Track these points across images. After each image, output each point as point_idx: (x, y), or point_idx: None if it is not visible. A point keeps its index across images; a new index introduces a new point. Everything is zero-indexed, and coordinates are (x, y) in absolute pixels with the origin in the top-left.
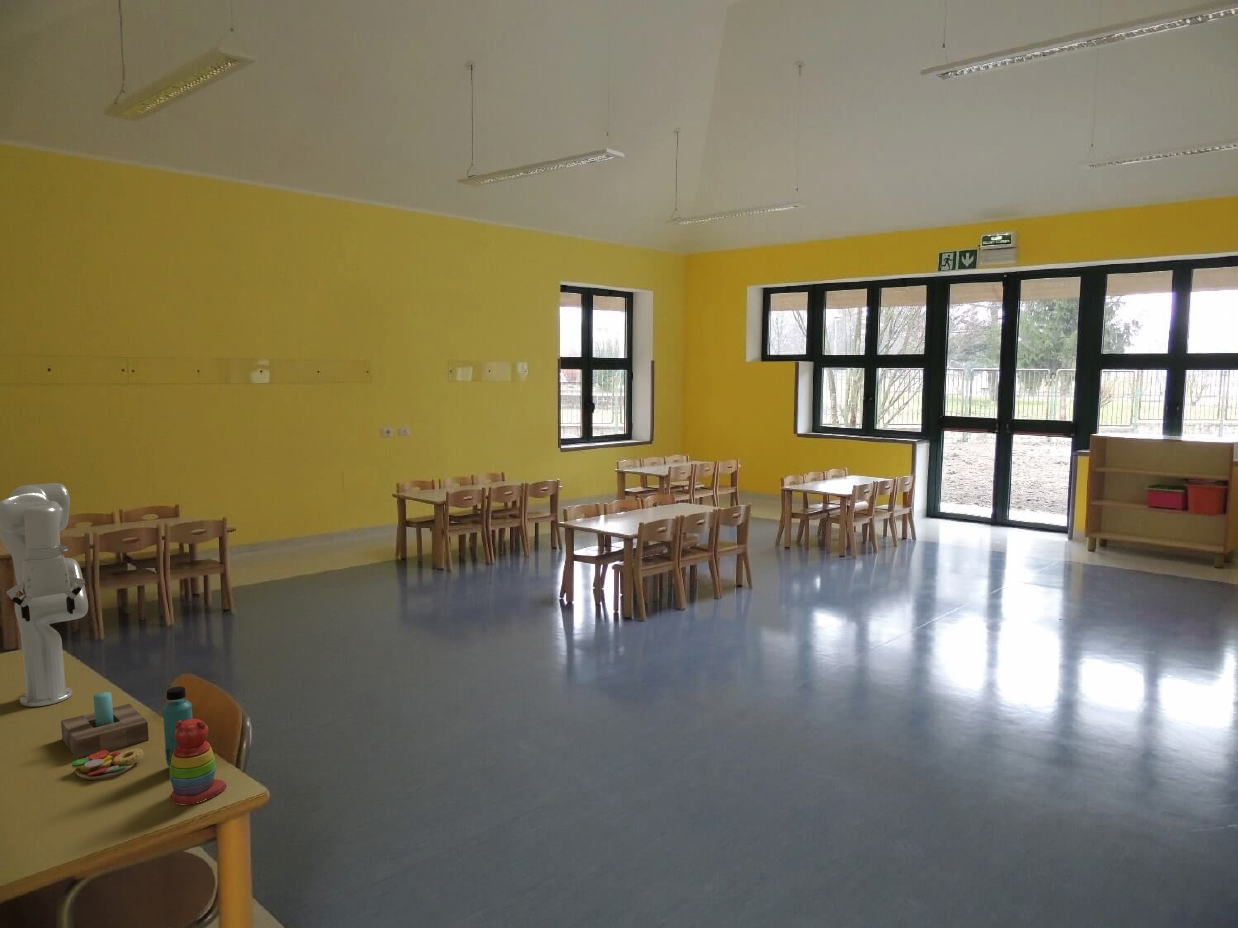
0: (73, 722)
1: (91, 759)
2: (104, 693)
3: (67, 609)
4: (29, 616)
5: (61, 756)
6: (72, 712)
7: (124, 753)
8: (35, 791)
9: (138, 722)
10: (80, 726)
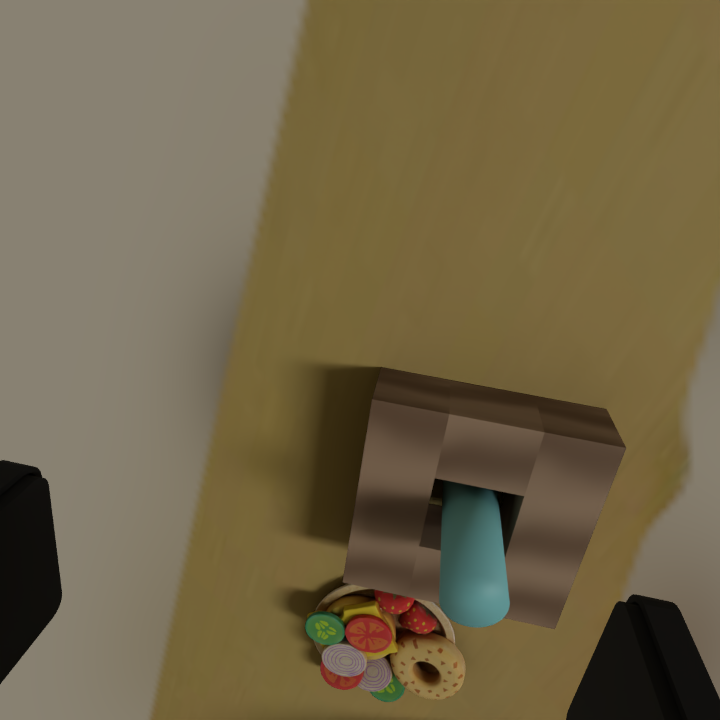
0: (395, 451)
1: (348, 640)
2: (488, 592)
3: (618, 661)
4: (14, 659)
5: (330, 485)
6: (527, 116)
7: (425, 660)
8: (225, 605)
9: (532, 614)
10: (395, 501)
